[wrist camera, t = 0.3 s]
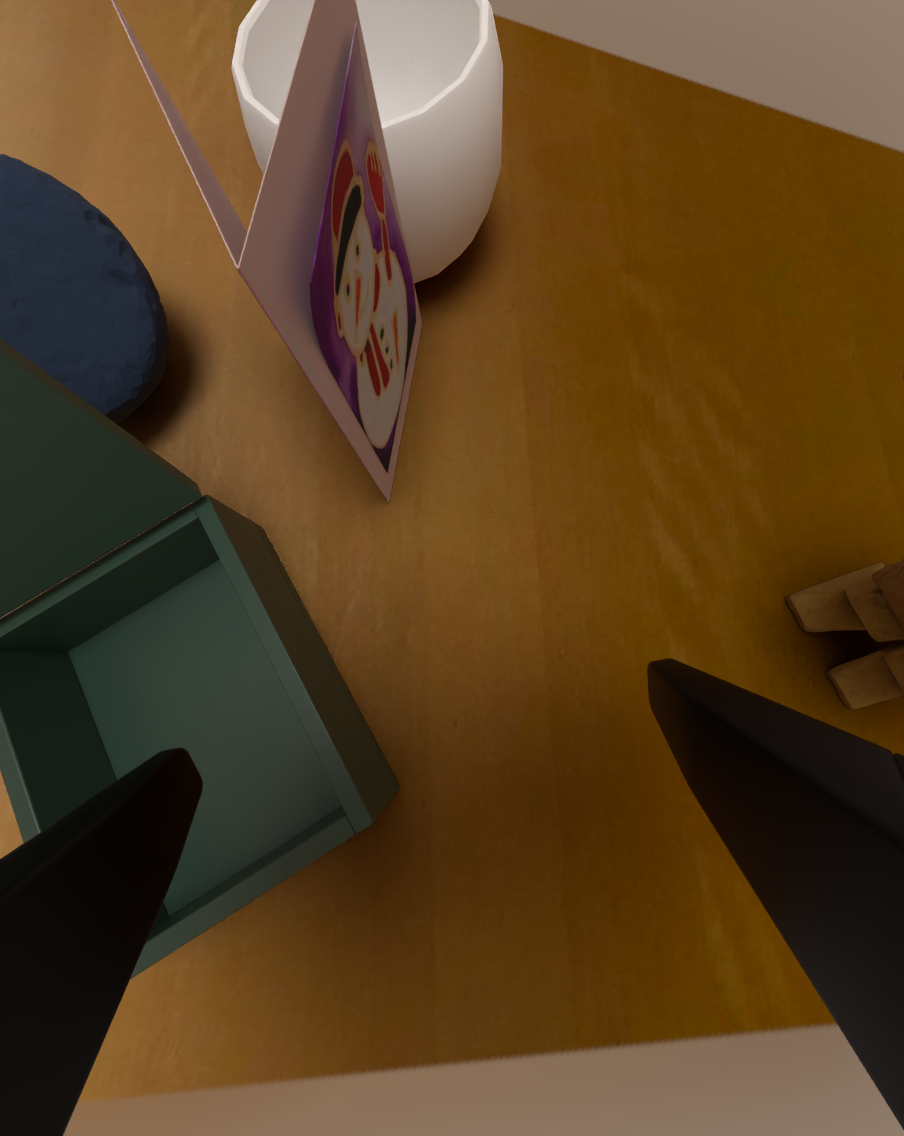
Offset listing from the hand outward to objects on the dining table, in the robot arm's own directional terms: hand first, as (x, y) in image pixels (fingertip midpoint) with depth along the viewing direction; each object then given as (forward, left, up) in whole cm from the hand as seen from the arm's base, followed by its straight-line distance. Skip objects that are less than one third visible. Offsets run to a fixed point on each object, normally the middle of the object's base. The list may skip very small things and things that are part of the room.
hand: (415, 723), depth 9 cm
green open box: (+7, +10, -14) cm, 19 cm away
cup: (+23, -15, -14) cm, 31 cm away
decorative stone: (+28, +4, -14) cm, 32 cm away
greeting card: (+16, -6, -14) cm, 22 cm away
